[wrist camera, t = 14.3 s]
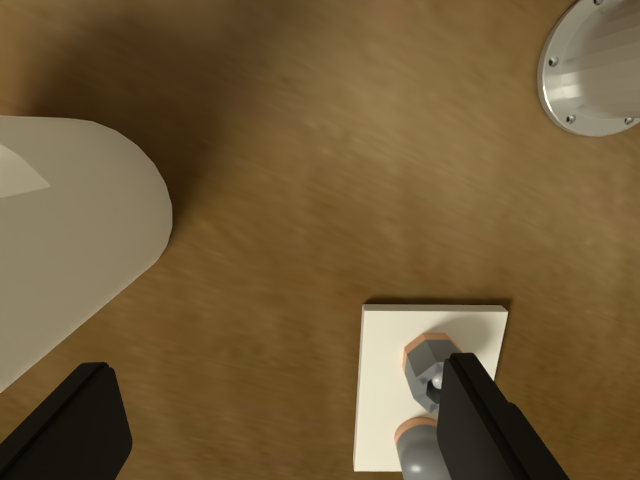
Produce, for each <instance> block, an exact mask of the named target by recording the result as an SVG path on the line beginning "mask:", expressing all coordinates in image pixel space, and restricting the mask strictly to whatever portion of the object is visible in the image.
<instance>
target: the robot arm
mask: <svg viewBox="0 0 640 480" xmlns="http://www.w3.org/2000/svg"><path fill="white" fill-rule="evenodd" d="M537 86H538V95H539V98H540V101H541V104H542V107H543V108H544V110H545V112H546V113H547V115H548V117H549V118H550V119H551V120H552V121H553V122H554V123H555V124H556V125H557V126H559V127H560V128H562V129H563V130H565V131H567V132H570V133H573V134H576V135H581V136H606V135H612V134H616V133H618V132H621V131H624V130H627V129H629V128H630V127H632V126H634V125H636V124H638V123H639V122H640V0H578V1H577V2H576V3H575V4H574V5H572V6H571V7H570V8H569V9H568V10H567V11H566V12H565V13H564V14H563V15H562V17H561V18H560V19H559V20H558V21H557V23H556V24H555V26H554V27H553V29H552V31H551V32H550V34H549V36H548V37H547V40H546V42H545V44H544V47H543V49H542V52H541V56H540V60H539V64H538V72H537ZM436 434H437V441H438V445H439V448H440V451H441V453H442V456H443V459H444V461H445V464H446V467H447V469H448V472H449V475H450V477H451V480H570V479H569V478H568V476H567V475H566V474H565V472H564V471H563V469H562V468H561V467H560V465H559V464H558V462H557V461H556V460H555V458H554V457H553V455H552V454H551V453H550V451H549V450H548V448H547V447H546V446H545V444H544V443H543V441H542V440H541V439H540V437H539V436H538V435H537V433H536V432H535V430H534V429H533V428H532V426H531V425H530V423H529V422H528V421H527V419H526V418H525V416H524V415H523V414H522V412H521V411H520V409H519V408H518V407H517V406H516V405H515V404H513V403H511V402H508V401H507V400H506V398H505V397H504V395H503V394H502V393H501V391H500V390H499V388H498V387H497V385H496V384H495V382H494V381H493V380H492V378H491V377H490V375H489V374H488V372H487V371H486V369H485V368H484V367H483V365H482V364H481V362H480V361H479V359H478V358H477V356H476V355H475V354H474V353H472V352H469V353H452V354H451V355H450V358H447V359H445V360H444V365H443V374H442V384H441V393H440V403H439V412H438V422H437V433H436ZM131 448H132V436H131V433H130V429H129V425H128V421H127V417H126V413H125V409H124V406H123V402H122V398H121V394H120V390H119V386H118V383H117V379H116V375H115V371H114V369H113V368H110V367H109V365H108V364H107V363H105V362H92V363H82V364H80V365H79V366H78V367H77V368H76V369H75V370H74V371H73V372H72V373H71V374H70V375H69V376H68V377H67V378H66V379H65V380H64V381H63V382H62V383H61V384H60V385H59V386H58V387H57V388H56V389H55V390H54V391H53V392H52V393H51V394H50V395H49V396H48V397H47V398H46V399H45V400H44V401H43V402H42V403H41V404H40V405H39V406H38V407H37V408H36V409H35V410H34V411H33V412H32V413H31V414H30V415H29V416H28V417H27V418H26V419H25V420H24V421H23V422H22V423H21V424H20V425H19V426H18V427H17V428H16V429H15V430H14V431H13V432H12V433H11V434H10V435H9V436H8V437H7V438H6V439H5V440H4V441H3V442H2V443H1V444H0V480H115V479H116V477H117V475H118V473H119V472H120V470H121V468H122V466H123V465H124V463H125V461H126V459H127V458H128V456H129V454H130V452H131Z"/></svg>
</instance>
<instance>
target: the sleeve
mask: <svg viewBox="0 0 640 480" xmlns="http://www.w3.org/2000/svg"><path fill="white" fill-rule="evenodd" d="M452 353H463V352H462V350H461V349H460V347H458V346H457V345H456V344H455V343H454V342H453V341H452V340H451V339H450V338H449V337H448V336H447V335H446V333H422V334H421V335H419V336H418V337H417V338H415V339H414V340H413V341H412V342H410V343H409V344H408V345H407V346H405V347H404V353H403V363H402V368H403V371H404V374H405V376H406V379H407V382H408V385H409V388H410V390H411V393H412V396H413V399H414V400H416V401H417V402H418V403H419V404H420V405H421V406H422V407H423V408H424V409H426V410H427V411H428V412H429V413H438V412H439V403H440V393H441V389H437V388H436V387H434V385H433V383H432V381H431V379H432V378H433V377H435V376H436V375H437V374H439V373H440V372H443V365H444V360H445V359H447V358H450V355H451V354H452Z"/></svg>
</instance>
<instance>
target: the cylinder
mask: <svg viewBox="0 0 640 480" xmlns="http://www.w3.org/2000/svg"><path fill="white" fill-rule="evenodd" d="M171 230H172V204H171V200H170V197H169V193H168V190H167V186H166V184H165V182H164V180H163V178H162V177H161V175H160V173H159V171H158V169H157V168H156V166H155V164H154V163H153V162H152V161H151V160H150V159H149V157H148V156H147V155H146V154H145V153H144V152H143V151H142V150H141V149H140V148H139V147H138V145H136V144H135V143H133V142H132V141H131V140H129V139H128V138H126V137H125V136H123V135H122V134H120V133H119V132H118V131H116V130H114V129H111V128H109V127H106V126H103V125H101V124H98V123H96V122H93V121H87V120H79V119H71V118H52V117H25V116H0V393H1V392H2V391H3V390H4V389H6V388H7V387H8V386H9V385H10V384H12V383H13V382H14V381H15V380H16V379H18V378H19V377H20V376H21V375H22V374H23V373H25V372H26V371H27V370H28V369H29V368H31V367H32V366H33V365H34V364H35V363H37V362H38V361H39V360H40V359H41V358H42V357H44V356H45V355H46V354H47V353H48V352H50V351H51V350H52V349H53V348H54V347H56V346H57V345H58V344H59V343H60V342H61V341H63V340H64V339H65V338H66V337H67V336H69V335H70V334H71V333H72V332H73V331H75V330H76V329H77V328H78V327H79V326H81V325H82V324H83V323H84V322H85V321H86V320H88V319H89V318H90V317H91V316H92V315H94V314H95V313H96V312H97V311H98V310H100V309H101V308H102V307H103V306H104V305H105V304H107V303H108V302H109V301H110V300H111V299H113V298H114V297H115V296H116V295H117V294H119V293H120V292H121V291H122V290H123V289H124V288H126V287H127V286H128V285H129V284H130V283H132V282H133V281H134V280H135V279H136V278H138V277H139V276H140V275H141V274H142V273H144V272H145V271H146V270H147V269H148V268H149V267H151V266H152V265H153V264H154V263H155V262H157V260H158V259H159V257H160V256H161V254H162V253H163V251H164V250H165V248H166V246H167V244H168V241H169V237H170V233H171Z"/></svg>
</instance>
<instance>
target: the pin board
mask: <svg viewBox="0 0 640 480" xmlns="http://www.w3.org/2000/svg"><path fill="white" fill-rule="evenodd" d="M507 315H508V311H507V310H506V309H505V308H504V307H503V306H502V305H406V304H363V306H362V323H361V339H360V356H359V372H358V389H357V405H356V422H355V439H354V455H353V464H354V471H402V473H403V478H404V480H451V477H450V475H449V472H448V469H447V467H446V464H445V461H444V459H443V456H442V453H441V451H440V448H439V445H438V441H437V434H436V433H437V422H438V413H429V412H428V411H427V410H426V409H424V408H423V407H422V406H421V405H420V404H419V403H418V402H417V401H416V400H414V399H413V396H412V393H411V390H410V388H409V385H408V382H407V379H406V376H405V374H404V371H403V368H402V363H403V353H404V347H405V346H407V345H408V344H409V343H410V342H412V341H413V340H414V339H415V338H417V337H418V336H419V335H421V334H422V333H446V335H447V336H448V337H449V338H450V339H451V340H452V341H453V342H454V343H455V344H456V345H457V346H458V347H460V349H461V350H462V352H463V353H469V352H472V353H474V354H475V355H476V356H477V358H478V359H479V361H480V362H481V364H482V365H483V367H484V368H485V369H486V371H487V372H488V374H489V375H490V377H491V378H492V380H493V381H494V377H495V372H496V367H497V363H498V358H499V353H500V348H501V344H502V339H503V334H504V330H505V325H506V320H507ZM442 374H443V372H440V373H439V374H437V375H436V376H435V377H433V378H432V379H431V381H432V383H433V385H434V387H436V388H437V389H441V384H442Z"/></svg>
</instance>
